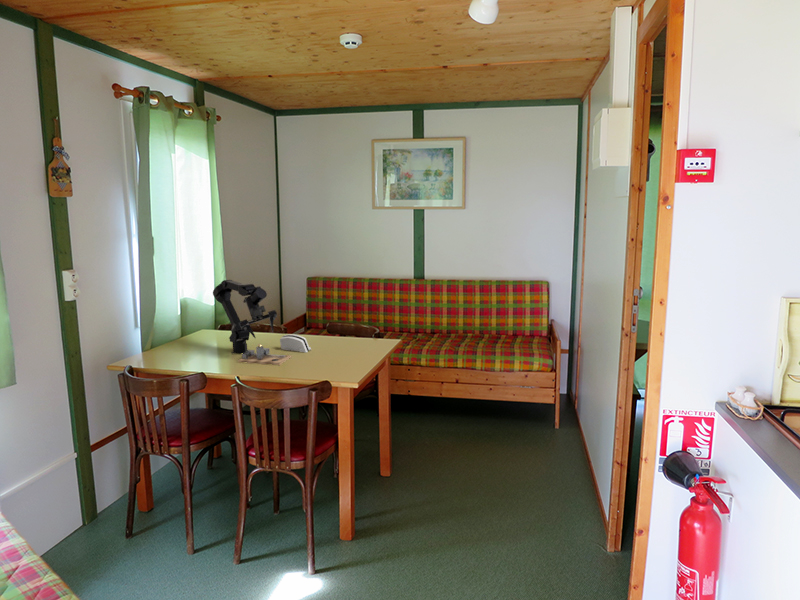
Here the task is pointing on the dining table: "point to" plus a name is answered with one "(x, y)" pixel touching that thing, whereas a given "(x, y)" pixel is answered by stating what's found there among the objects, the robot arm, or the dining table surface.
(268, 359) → the brown wooden board
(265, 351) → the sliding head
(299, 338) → the grey curved block
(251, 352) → the rail
